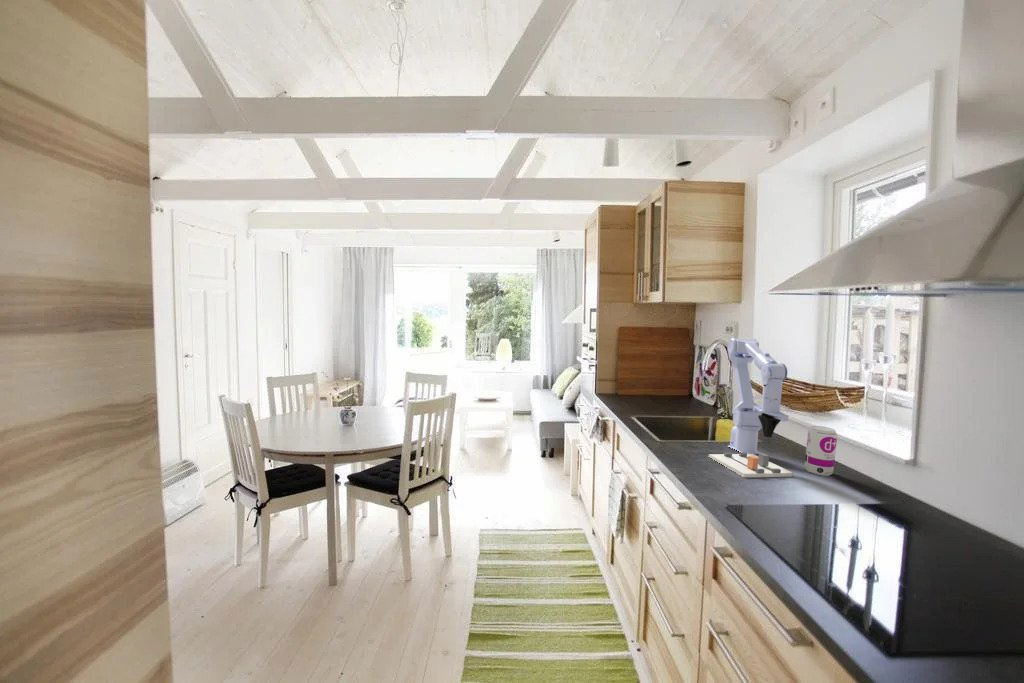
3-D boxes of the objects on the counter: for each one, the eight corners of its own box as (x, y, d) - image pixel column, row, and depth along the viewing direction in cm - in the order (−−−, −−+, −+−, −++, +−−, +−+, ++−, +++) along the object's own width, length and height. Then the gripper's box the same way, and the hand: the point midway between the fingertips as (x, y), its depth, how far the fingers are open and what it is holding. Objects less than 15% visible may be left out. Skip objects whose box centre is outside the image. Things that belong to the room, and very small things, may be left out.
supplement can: (838, 477, 154) (843, 432, 153) (813, 475, 154) (818, 431, 153) (822, 468, 162) (827, 426, 161) (798, 467, 162) (803, 424, 161)
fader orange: (747, 466, 155) (748, 455, 155) (752, 466, 155) (753, 455, 155) (752, 469, 153) (753, 458, 152) (757, 469, 153) (758, 458, 153)
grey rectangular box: (757, 463, 158) (758, 453, 158) (763, 463, 159) (764, 453, 159) (762, 466, 156) (763, 455, 156) (768, 466, 157) (769, 455, 156)
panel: (708, 457, 168) (708, 451, 167) (752, 457, 171) (753, 450, 171) (743, 477, 149) (744, 470, 149) (792, 476, 152) (793, 469, 152)
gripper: (747, 393, 168) (743, 430, 169) (776, 402, 154) (772, 442, 155) (764, 394, 169) (760, 430, 170) (795, 402, 155) (791, 442, 156)
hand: (767, 436), depth 163 cm, fingers closed
